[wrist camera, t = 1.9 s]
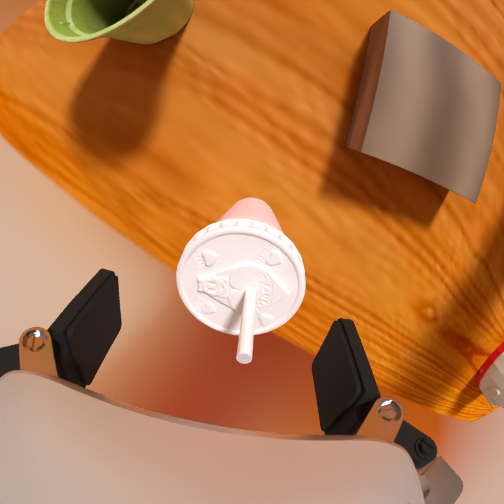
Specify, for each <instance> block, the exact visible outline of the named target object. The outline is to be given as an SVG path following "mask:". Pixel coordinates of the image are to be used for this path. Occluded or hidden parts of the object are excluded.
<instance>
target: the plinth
mask: <svg viewBox="0 0 504 504" xmlns="http://www.w3.org/2000/svg"><path fill="white" fill-rule="evenodd" d="M500 90H501V83H500V82H499V81H498V80H497V79H495V78H494V77H493V76H492V75H491V74H490V73H489V72H487V71H486V70H485V69H484V68H483V67H481V66H480V65H479V64H478V63H476V62H475V61H474V60H473V59H471V58H470V57H469V56H467V55H466V54H465V53H463V52H462V51H460V50H459V49H458V48H456V47H455V46H453V45H452V44H450V43H449V42H447V41H446V40H444V39H443V38H441V37H440V36H438V35H437V34H435V33H433V32H432V31H430V30H428V29H427V28H425V27H423V26H421V25H420V24H418V23H416V22H414V21H412V20H411V19H409V18H407V17H405V16H403V15H401V14H399V13H397V12H395V11H393V10H390V11H389V12H387V13H386V14H385V15H384V16H382V17H381V18H380V19H379V20H378V21H376V22H375V23H374V24H373V25H372V26H371V31H370V36H369V42H368V47H367V52H366V57H365V62H364V67H363V71H362V76H361V81H360V85H359V89H358V94H357V98H356V102H355V106H354V110H353V114H352V118H351V122H350V126H349V130H348V134H347V138H346V142H345V145H344V147H347V148H350V149H353V150H355V151H358V152H361V153H364V154H367V155H370V156H372V157H375V158H378V159H380V160H383V161H385V162H388V163H391V164H393V165H396V166H398V167H400V168H403V169H405V170H408V171H410V172H412V173H414V174H417V175H419V176H421V177H423V178H426V179H428V180H430V181H432V182H434V183H436V184H438V185H440V186H442V187H444V188H446V189H448V190H450V191H452V192H454V193H456V194H458V195H460V196H462V197H464V198H466V199H468V200H470V201H472V202H473V203H475V204H476V201H477V198H478V195H479V192H480V189H481V186H482V183H483V179H484V176H485V172H486V168H487V165H488V161H489V157H490V152H491V148H492V143H493V138H494V133H495V128H496V122H497V115H498V108H499V100H500Z"/></svg>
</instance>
